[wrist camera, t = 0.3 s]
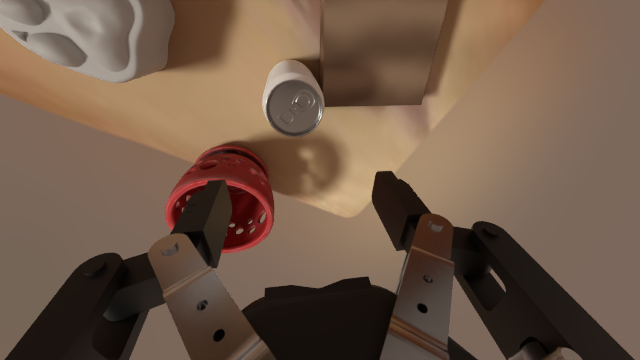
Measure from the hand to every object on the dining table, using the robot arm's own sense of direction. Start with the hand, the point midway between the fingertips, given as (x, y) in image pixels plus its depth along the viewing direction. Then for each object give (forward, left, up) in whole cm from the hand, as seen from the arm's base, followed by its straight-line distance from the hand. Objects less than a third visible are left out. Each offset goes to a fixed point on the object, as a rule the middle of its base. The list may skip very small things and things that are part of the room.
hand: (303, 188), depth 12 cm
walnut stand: (-5, +11, -24) cm, 27 cm away
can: (0, 0, -25) cm, 25 cm away
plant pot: (+14, -10, -25) cm, 30 cm away
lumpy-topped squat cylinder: (-8, -20, -25) cm, 33 cm away
